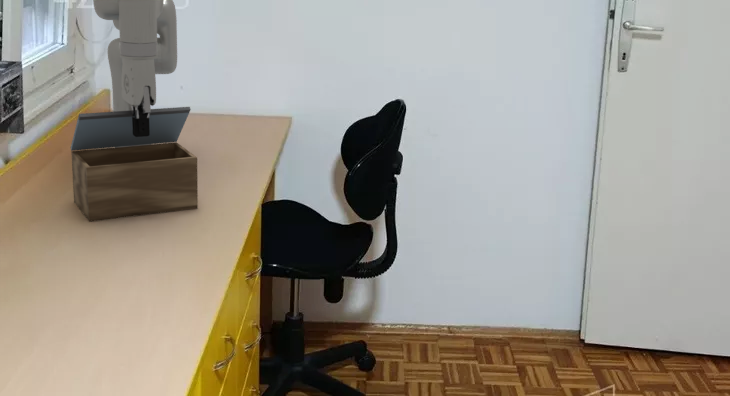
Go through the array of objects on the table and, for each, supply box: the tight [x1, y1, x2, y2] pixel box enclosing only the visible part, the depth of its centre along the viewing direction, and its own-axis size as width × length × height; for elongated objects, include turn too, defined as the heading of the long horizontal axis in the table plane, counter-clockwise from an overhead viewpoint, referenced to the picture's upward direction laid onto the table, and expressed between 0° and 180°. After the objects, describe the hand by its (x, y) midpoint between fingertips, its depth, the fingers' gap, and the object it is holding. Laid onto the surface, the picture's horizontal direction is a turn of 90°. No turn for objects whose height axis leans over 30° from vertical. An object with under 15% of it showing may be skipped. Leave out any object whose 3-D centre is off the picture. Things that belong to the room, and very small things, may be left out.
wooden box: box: [70, 141, 199, 223], centre depth 197 cm, size 14×24×12 cm, turn 120°
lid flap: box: [70, 106, 191, 152], centre depth 196 cm, size 14×24×1 cm
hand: (141, 135), depth 189 cm, fingers closed
